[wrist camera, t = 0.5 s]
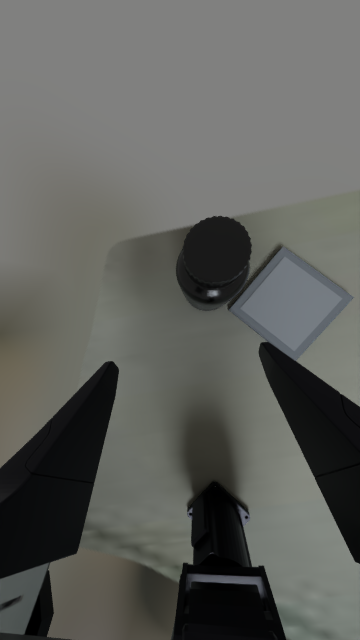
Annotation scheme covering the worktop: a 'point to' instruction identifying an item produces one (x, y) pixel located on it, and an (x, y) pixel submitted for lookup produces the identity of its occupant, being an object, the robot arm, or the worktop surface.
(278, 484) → the worktop surface
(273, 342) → the plate
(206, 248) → the supplement bottle
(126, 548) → the worktop surface
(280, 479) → the worktop surface
